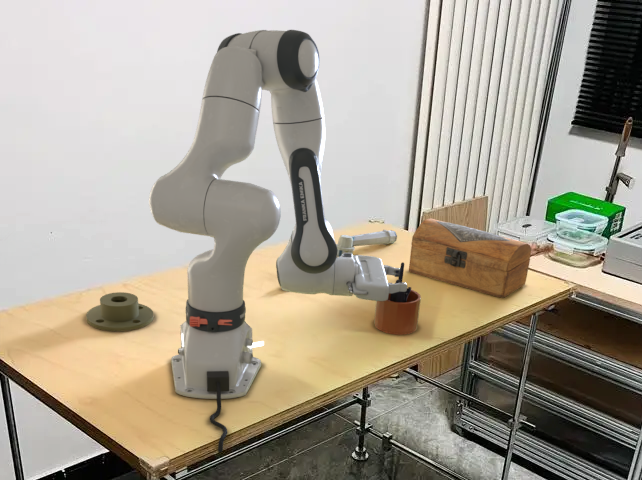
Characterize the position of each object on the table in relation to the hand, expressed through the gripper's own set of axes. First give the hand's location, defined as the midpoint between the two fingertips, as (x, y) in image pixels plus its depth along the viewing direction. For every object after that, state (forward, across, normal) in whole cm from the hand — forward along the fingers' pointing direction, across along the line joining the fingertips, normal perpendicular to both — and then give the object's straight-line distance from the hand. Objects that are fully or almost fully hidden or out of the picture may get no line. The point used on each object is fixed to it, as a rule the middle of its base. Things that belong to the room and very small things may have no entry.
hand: (404, 279), depth 189 cm
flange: (-66, -2, +12) cm, 67 cm away
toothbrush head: (-4, +56, +12) cm, 57 cm away
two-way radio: (-1, 0, +11) cm, 11 cm away
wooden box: (+23, +35, +12) cm, 43 cm away
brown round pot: (-1, 0, +12) cm, 12 cm away
